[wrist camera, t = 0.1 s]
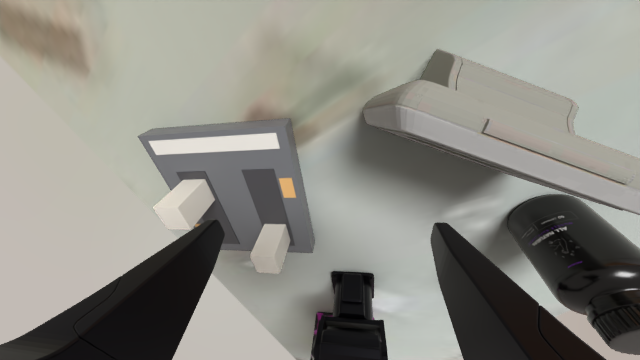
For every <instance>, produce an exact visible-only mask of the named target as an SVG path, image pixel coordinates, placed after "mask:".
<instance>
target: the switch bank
mask: <svg viewBox="0 0 640 360" xmlns="http://www.w3.org/2000/svg"><path fill="white" fill-rule="evenodd" d="M138 138H139V139H140V141H141V142H142V144H143V146H144V147H145V149H146V151H147V152H148V154H149V156H150V157H151V159H152V160H153V162H154V164H155V165H156V167H157V169H158V170H159V172H160V173H161V175H162V177H163V178H164V180H165V182H166V183H167V185H168V186H169V188H170V190H171V191H172V190H173V189H174V188H175V187H176V186H177V185H178V184H179V183H180V182H181V181H183V180H194V179H205V180H206V182H207V184H208V186H209V188H210V190H211V192H212V194H213V196H214V199H215V201H214V202H213V203H212V204H211V206H210V207H209V208H208V209H207V211H206V212H205V213H204V214H203V216H202V217H201V218H200V219H199V221H198V222H197V223H196V224H195V226H194V228H196V227H197V226H199V225H200V224H202V223H203V222H205V221H206V220H208V219H217V220H219V222H220V224H221V226H222V228H223V230H224V232H225V237H224V240H223V243H222V246H221V249H220V250H242V251H252V250H253V248H254V246H255V243H256V241H257V239H258V237H259V235H260V233H261V230H262V228H263V226H264V224H286V227H287V230H288V234H289V237H290V244H289V247H288V250H287V252H300V253H313V249H314V243H315V239H314V234H313V229H312V224H311V219H310V214H309V209H308V204H307V199H306V194H305V189H304V184H303V179H302V174H301V169H300V164H299V159H298V154H297V149H296V144H295V140H294V135H293V130H292V125H291V120H290V118H287V119H274V120H261V121H248V122H235V123H222V124H209V125H196V126H183V127H170V128H157V129H151V130H149V131H147V132H145V133H143V134H141V135H139V136H138Z"/></svg>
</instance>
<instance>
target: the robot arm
mask: <svg viewBox="0 0 640 360" xmlns="http://www.w3.org/2000/svg"><path fill="white" fill-rule="evenodd" d="M224 237H225V232H224V230H223V228H222V226H221V224H220V222H219V220H217V219H208V220H206V221H205V222H203V223H202V224H200V225H199V226H197V227H196V228H194V229H193V230H191V231H189V232H188V233H186V234H185V235H183V236H182V237H180V238H179V239H177V240H176V241H174V242H173V243H171V244H169V245H168V246H166V247H165V248H163V249H162V250H161V251H159V252H157V253H156V254H154V255H153V256H151V257H150V258H148V259H146V260H145V261H143V262H142V263H140V264H139V265H137V266H136V267H134V268H133V269H131V270H130V271H128V272H127V273H125V274H124V275H123V276H121V277H119V278H117V279H116V280H114V281H113V282H111V283H110V284H108V285H106V286H105V287H103V288H102V289H100V290H99V291H97V292H95V293H94V294H92V295H91V296H89V297H87V298H86V299H84V300H82V301H81V302H79V303H77V304H76V305H74V306H72V307H71V308H69V309H67V310H65V311H64V312H62V313H60V314H59V315H57V316H56V317H54V318H52V319H50V320H48V321H47V322H45V323H44V324H42V325H40V326H38V327H37V328H35V329H33V330H32V331H30V332H28V333H26V334H25V335H23V336H20V337H19V338H16V339H14V340H12V341H9V342H7V343H4V344H1V345H0V360H172V358H173V356H174V354H175V352H176V350H177V347H178V345H179V343H180V341H181V339H182V336H183V334H184V332H185V330H186V328H187V326H188V323H189V321H190V319H191V317H192V315H193V313H194V310H195V308H196V306H197V304H198V302H199V299H200V297H201V295H202V293H203V291H204V289H205V286H206V284H207V282H208V280H209V278H210V275H211V273H212V271H213V269H214V266H215V263H216V260H217V258H218V255H219V252H220V249H221V246H222V243H223V240H224ZM431 246H432V251H433V256H434V261H435V266H436V271H437V276H438V281H439V284H440V288H441V291H442V294H443V297H444V300H445V303H446V306H447V309H448V313H449V316H450V319H451V322H452V325H453V328H454V331H455V334H456V337H457V340H458V343H459V346H460V350H461V353H462V356H463V359H464V360H606V359H605V358H604V357H602V356H601V355H600V354H599V353H597V352H596V351H595V350H594V349H592V348H591V347H590V346H589V345H587V344H586V343H585V342H584V341H582V340H581V339H580V338H579V337H577V336H576V335H575V334H574V333H573V332H571V331H570V330H569V329H568V328H567V327H566V326H564V325H563V324H562V323H561V322H559V321H558V320H557V319H556V318H555V317H554V316H553V315H551V314H550V313H549V312H548V311H547V310H546V309H545V308H543V307H542V306H539V303H538V302H537V301H535V300H534V299H533V298H532V297H531V296H530V295H529V294H527V293H526V292H525V291H524V290H523V289H522V288H521V287H519V286H518V285H517V284H516V283H515V282H514V281H513V280H511V279H510V278H509V277H508V276H507V275H506V274H505V273H503V272H502V271H501V270H500V269H499V268H498V267H497V266H495V265H494V264H493V263H492V262H491V261H490V260H489V259H487V258H486V257H485V256H484V255H483V254H482V253H481V252H479V251H478V250H477V249H476V248H475V247H474V246H473V245H471V244H470V243H469V242H468V241H467V240H466V239H465V238H463V237H462V236H461V235H460V234H459V233H458V232H457V231H456V230H454V229H453V228H452V227H451V226H450V225H449V224H447V223H435V224H434V226H433V230H432V234H431ZM332 282H333V288H334V294H335V296H334V308H333V316H325V315H321V320H319V321H318V329H317V334H316V338H315V341H314V344H313V347H312V351H311V354H312V356H313V358H314V360H388V356H387V346H386V338H385V329H384V321H383V320H373V311H372V298H374V275H373V274H371V273H353V272H332Z"/></svg>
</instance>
